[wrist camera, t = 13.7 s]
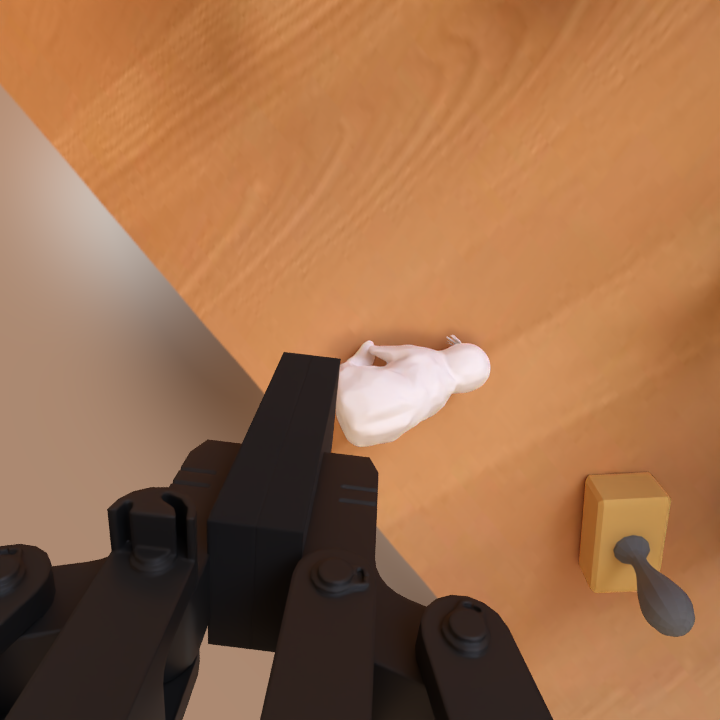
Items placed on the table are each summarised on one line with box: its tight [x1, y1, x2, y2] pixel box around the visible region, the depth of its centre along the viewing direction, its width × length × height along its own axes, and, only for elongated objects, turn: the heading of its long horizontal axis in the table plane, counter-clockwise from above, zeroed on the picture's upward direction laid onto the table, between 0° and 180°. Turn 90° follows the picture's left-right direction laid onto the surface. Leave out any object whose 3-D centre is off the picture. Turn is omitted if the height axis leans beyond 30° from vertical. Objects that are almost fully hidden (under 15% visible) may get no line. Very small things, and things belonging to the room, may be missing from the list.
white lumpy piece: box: [336, 335, 490, 447], centre depth 41 cm, size 6×8×12 cm
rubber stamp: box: [579, 472, 695, 637], centre depth 45 cm, size 10×6×12 cm, turn 5°
